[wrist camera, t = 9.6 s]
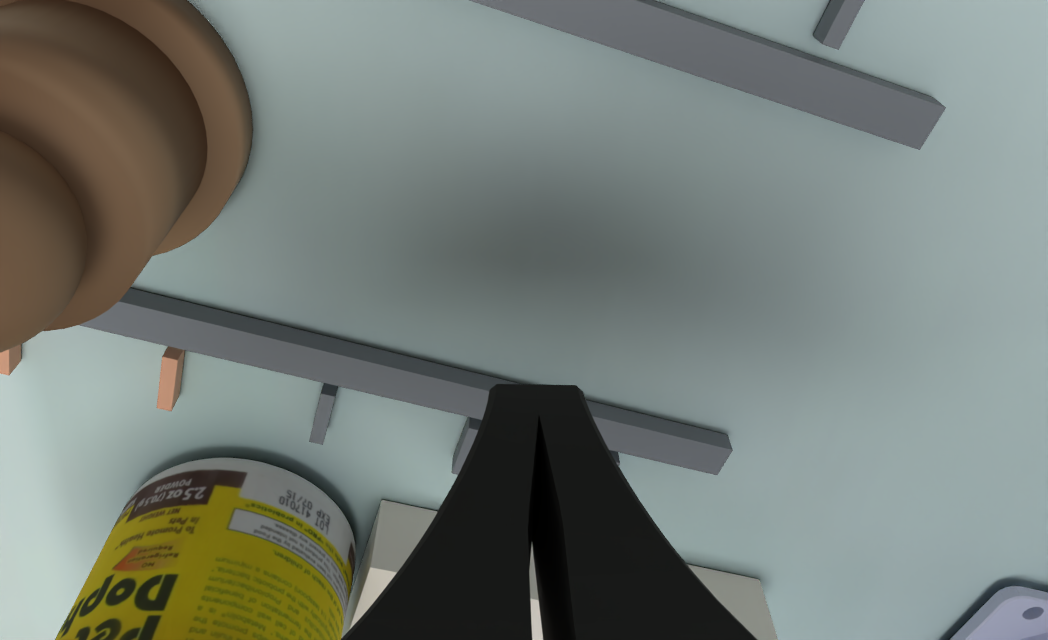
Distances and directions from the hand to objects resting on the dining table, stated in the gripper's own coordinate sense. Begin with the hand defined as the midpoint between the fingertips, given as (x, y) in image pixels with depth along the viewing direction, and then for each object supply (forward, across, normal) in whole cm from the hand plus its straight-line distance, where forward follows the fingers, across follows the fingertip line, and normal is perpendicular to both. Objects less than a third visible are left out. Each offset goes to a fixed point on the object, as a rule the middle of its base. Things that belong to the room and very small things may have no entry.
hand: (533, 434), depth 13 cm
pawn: (+4, +8, -4) cm, 9 cm away
